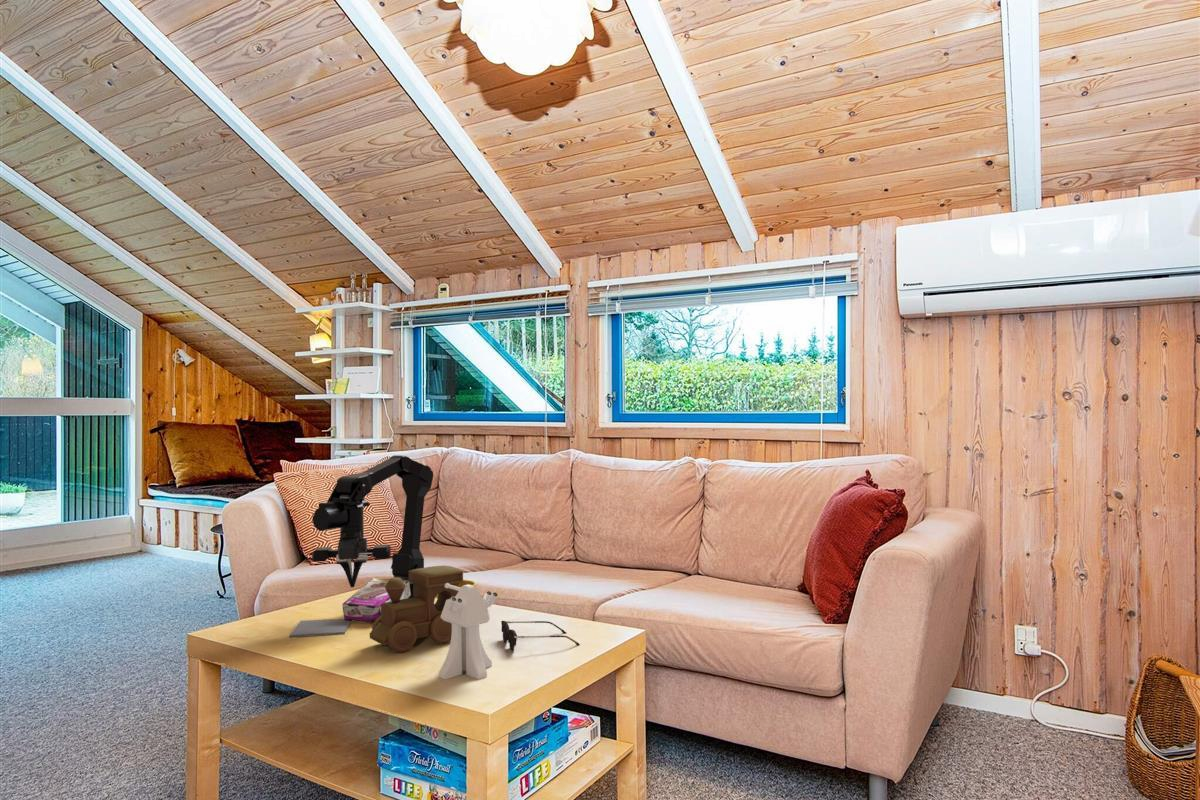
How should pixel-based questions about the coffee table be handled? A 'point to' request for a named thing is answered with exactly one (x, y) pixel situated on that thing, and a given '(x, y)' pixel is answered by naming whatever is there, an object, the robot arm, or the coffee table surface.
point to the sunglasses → (512, 636)
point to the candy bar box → (370, 601)
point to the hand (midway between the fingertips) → (352, 587)
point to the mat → (320, 627)
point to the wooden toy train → (417, 608)
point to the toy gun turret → (466, 632)
